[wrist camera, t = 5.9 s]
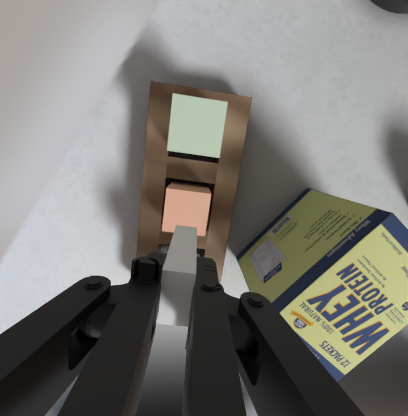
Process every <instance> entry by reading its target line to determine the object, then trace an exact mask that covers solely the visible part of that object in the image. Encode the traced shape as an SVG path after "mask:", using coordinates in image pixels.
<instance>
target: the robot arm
mask: <svg viewBox="0 0 408 416" xmlns="http://www.w3.org/2000/svg"><path fill="white" fill-rule="evenodd" d="M372 1H373V2H374V3H375V4H377V5H378V6H379V7H381V8H383V9H385V10H388V11H390V12H394V13H408V0H372ZM156 320H157V323H159V324H169V325H178V326H179V325H180V326H188V334H187V341H186V348H185V349H186V365H185V381H184V396H183V411H182V416H246V410H245V405H244V400H243V394H242V388H241V383H240V377H239V373H240V375H241V378H242V380H243V382H244V385H245V387H246V389H247V391H248V394H249V396H250V398H251V400H252V403H253V405H254V407H255V410H256V412H257V414H258V416H364V414H363V413H362V412H361V411H360V409H359V408H358V407H357V406H356V405H355V403H354V402H353V401H352V400H351V399H350V397H349V396H348V395H347V394H346V393H345V391H344V390H343V389H342V388H341V387H340V385H339V384H338V383H337V382H336V380H335V379H334V378H333V377H332V376H331V374H330V373H329V372H328V371H327V370H326V368H325V367H324V366H323V365H322V364H321V362H320V361H319V360H318V359H317V358H316V356H315V355H314V354H313V353H312V352H311V350H310V349H309V348H308V347H307V345H306V344H305V343H304V342H303V341H302V339H301V338H300V337H299V336H298V335H297V333H296V332H295V331H294V330H293V329H292V327H291V326H290V325H289V324H288V323H287V321H286V320H285V319H284V318H283V317H282V315H281V314H280V313H279V312H278V310H277V309H276V308H275V307H274V306H273V304H272V303H271V302H270V301H269V300H268V299H267V298H266V297H264V296H263V295H261V294H259V293H255V292H245V293H243V294H242V295H241V297H240V299H238V298H235V297H232V296H230V295H228V294H226V293H225V292H224V289H223V287H222V285H221V284H220V283H219V279H218V273H217V267H216V262H215V261H214V260H213V259H212V258H205V257H197V228H196V227H189V226H181V225H176V227H175V230H174V233H173V237H172V240H171V243H170V246H169V250H168V253H167V254H166V253H158V252H151V253H150V254H148V255H147V256H144V257H138V258H136V259H134V260H133V261H132V268H131V279H130V281H129V282H128V283H127V284H123V285H113V286H111V281H110V280H109V279H108V278H106V277H103V276H90V277H86V278H83V279H81V280H79V281H78V282H77V283H75V284H74V285H72V286H71V287H69V288H68V289H66V290H65V291H63V292H62V293H60V294H59V295H57V296H56V297H54V298H53V299H52V300H50V301H49V302H47V303H46V304H44V305H43V306H41V307H40V308H38V309H37V310H35V311H34V312H32V313H31V314H29V315H28V316H27V317H25V318H24V319H22V320H21V321H19V322H18V323H16V324H15V325H13V326H12V327H10V328H9V329H7V330H6V331H4V332H3V333H2V334H0V416H45V414H46V413H47V412H48V411H49V410H50V409H51V407H52V406H53V405H54V404H55V402H56V401H57V400H58V399H59V398H60V396H61V395H62V394H63V393H64V392H65V390H66V389H67V388H68V387H69V386H70V384H71V383H72V382H73V381H74V379H75V378H76V377H77V376H78V375H79V376H78V378H77V380H76V382H75V384H74V385H73V388H72V389H71V391H70V393H69V395H68V397H67V398H66V401H65V402H64V404H63V406H62V408H61V410H60V412H59V413H58V415H57V416H135V414H136V409H137V405H138V401H139V397H140V392H141V388H142V384H143V380H144V376H145V372H146V367H147V363H148V359H149V355H150V350H151V346H152V342H153V338H154V334H155V327H156ZM238 371H239V372H238ZM79 373H80V374H79Z"/></svg>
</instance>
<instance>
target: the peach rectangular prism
mask: <svg viewBox="0 0 408 416" xmlns="http://www.w3.org/2000/svg"><path fill="white" fill-rule="evenodd" d="M210 200H211V192H210V189H209V187H208V186H206V185H198V184H191V183H183V182H176V181H172V182H171V183H170V185H169V186H168V187H167V188H166V196H165V206H164V216H163V225H162V231H165V232H173V233H174V230H175V227H176V225H181V226H189V227H196V228H197V235H198V236H205V234H206V227H207V220H208V213H209V207H210Z"/></svg>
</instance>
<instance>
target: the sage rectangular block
mask: <svg viewBox="0 0 408 416" xmlns="http://www.w3.org/2000/svg"><path fill="white" fill-rule="evenodd" d="M227 105H228V102H225V101H218V100H212V99H206V98H199V97H193V96H187V95H181V94H174V93H173V95H172V105H171V115H170V125H169V135H168V144H167V151H174V152H181V153H188V154H195V155H202V156H209V157H216V158H220V151H221V145H222V138H223V131H224V125H225V118H226V111H227Z"/></svg>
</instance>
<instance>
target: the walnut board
mask: <svg viewBox="0 0 408 416" xmlns="http://www.w3.org/2000/svg"><path fill="white" fill-rule="evenodd" d="M173 93H174V94H181V95H187V96H193V97H199V98H206V99H212V100H218V101H225V102H228V105H227V111H226V118H225V125H224V131H223V138H222V145H221V151H220V158H216V163H215V162H208V161H201V160H194V159H187V158H180V157H173V156H171V151H167V144H168V135H169V125H170V115H171V105H172V95H173ZM251 101H252V97H246V96H240V95H233V94H227V93H221V92H215V91H209V90H202V89H196V88H190V87H184V86H178V85H171V84H165V83H159V82H153V81H151V86H150V98H149V110H148V122H147V134H146V147H145V159H144V171H143V183H142V195H141V208H140V220H139V232H138V244H137V256H136V258H138V257H144V256H147V255H148V254H150V253H151V252H158V253H161V246H162V244H166V245H170V243H171V240H172V237H173V232H165V231H162V225H163V216H164V206H165V196H166V188H167V187H168V180H169V178H175V179H182V180H189V181H197V182H204V183H212V184H213V185H212V192H211V200H210V207H209V213H208V220H207V227H206V234H205V236H198V235H197V248H200V249H203V253H202V257H205V258H212V259H213V260H214V261H215V262H216V267H217V273H218V279H219V283H220V282H221V276H222V271H223V265H224V259H225V253H226V247H227V241H228V235H229V230H230V224H231V218H232V212H233V206H234V200H235V194H236V189H237V183H238V177H239V171H240V165H241V159H242V153H243V148H244V142H245V136H246V130H247V124H248V118H249V113H250V107H251Z"/></svg>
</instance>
